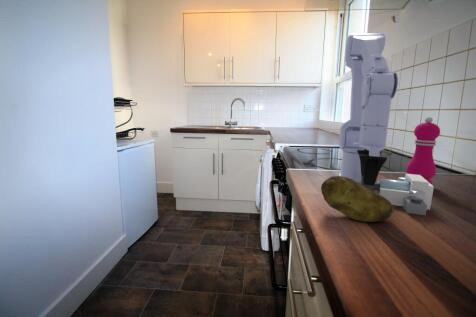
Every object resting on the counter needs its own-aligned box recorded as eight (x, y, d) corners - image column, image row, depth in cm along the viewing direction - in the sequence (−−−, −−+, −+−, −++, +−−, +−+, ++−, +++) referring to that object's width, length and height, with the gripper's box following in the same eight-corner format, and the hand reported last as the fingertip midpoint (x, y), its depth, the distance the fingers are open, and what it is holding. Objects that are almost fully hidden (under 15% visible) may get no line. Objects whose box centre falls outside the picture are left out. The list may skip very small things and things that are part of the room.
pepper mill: (423, 182, 79) (434, 117, 76) (439, 189, 72) (452, 117, 69) (399, 181, 80) (408, 116, 76) (412, 188, 73) (423, 117, 69)
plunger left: (395, 191, 68) (397, 176, 68) (407, 193, 67) (409, 177, 67) (397, 194, 66) (399, 179, 65) (409, 196, 65) (412, 180, 64)
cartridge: (358, 192, 67) (360, 174, 66) (414, 199, 62) (417, 180, 61) (359, 196, 63) (362, 178, 62) (418, 204, 59) (421, 185, 58)
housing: (373, 189, 71) (376, 167, 69) (416, 194, 67) (420, 171, 66) (381, 209, 56) (384, 182, 55) (436, 217, 53) (441, 188, 52)
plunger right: (405, 206, 57) (408, 188, 57) (420, 209, 56) (423, 190, 56) (408, 211, 55) (411, 192, 54) (423, 213, 54) (426, 194, 53)
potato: (385, 234, 45) (391, 190, 43) (314, 214, 53) (317, 176, 51) (392, 219, 51) (398, 180, 50) (328, 203, 59) (331, 169, 58)
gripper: (354, 123, 69) (349, 172, 72) (357, 126, 56) (350, 186, 58) (384, 125, 67) (377, 175, 69) (394, 127, 53) (385, 190, 56)
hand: (367, 180), depth 64 cm, fingers open, 7 cm apart
